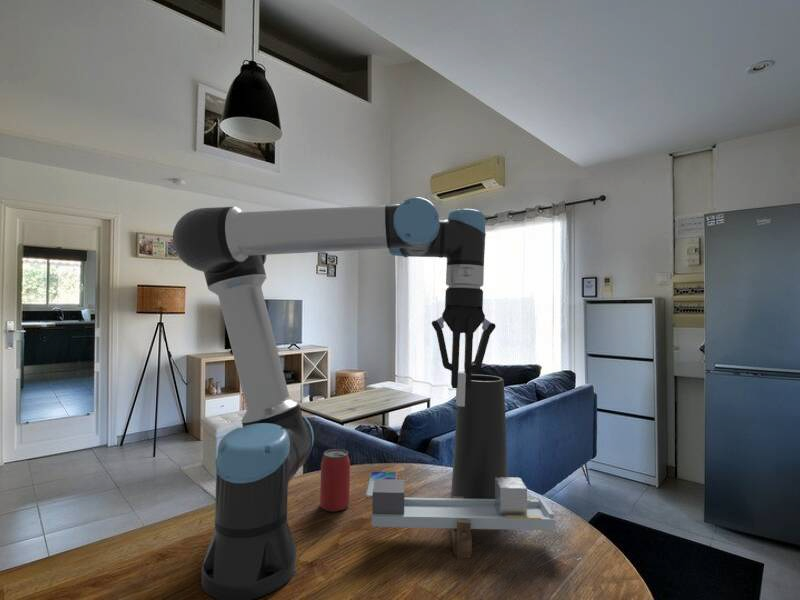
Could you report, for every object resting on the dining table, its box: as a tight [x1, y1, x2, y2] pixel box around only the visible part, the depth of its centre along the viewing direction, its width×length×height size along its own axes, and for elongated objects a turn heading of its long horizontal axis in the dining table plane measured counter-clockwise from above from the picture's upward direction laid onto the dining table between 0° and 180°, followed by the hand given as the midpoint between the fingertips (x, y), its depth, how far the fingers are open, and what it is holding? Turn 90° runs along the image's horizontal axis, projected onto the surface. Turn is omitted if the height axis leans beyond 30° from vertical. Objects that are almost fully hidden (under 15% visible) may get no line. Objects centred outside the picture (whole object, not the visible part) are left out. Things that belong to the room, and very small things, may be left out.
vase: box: [450, 374, 509, 499], centre depth 99 cm, size 14×14×29 cm
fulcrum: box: [449, 496, 473, 559], centre depth 80 cm, size 3×12×6 cm, turn 179°
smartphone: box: [364, 471, 398, 499], centre depth 106 cm, size 7×1×15 cm
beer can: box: [319, 448, 351, 513], centre depth 94 cm, size 7×7×12 cm
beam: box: [371, 479, 556, 531], centre depth 80 cm, size 34×8×6 cm, turn 89°
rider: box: [495, 476, 528, 516], centre depth 80 cm, size 5×5×6 cm
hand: (460, 404), depth 83 cm, fingers closed
